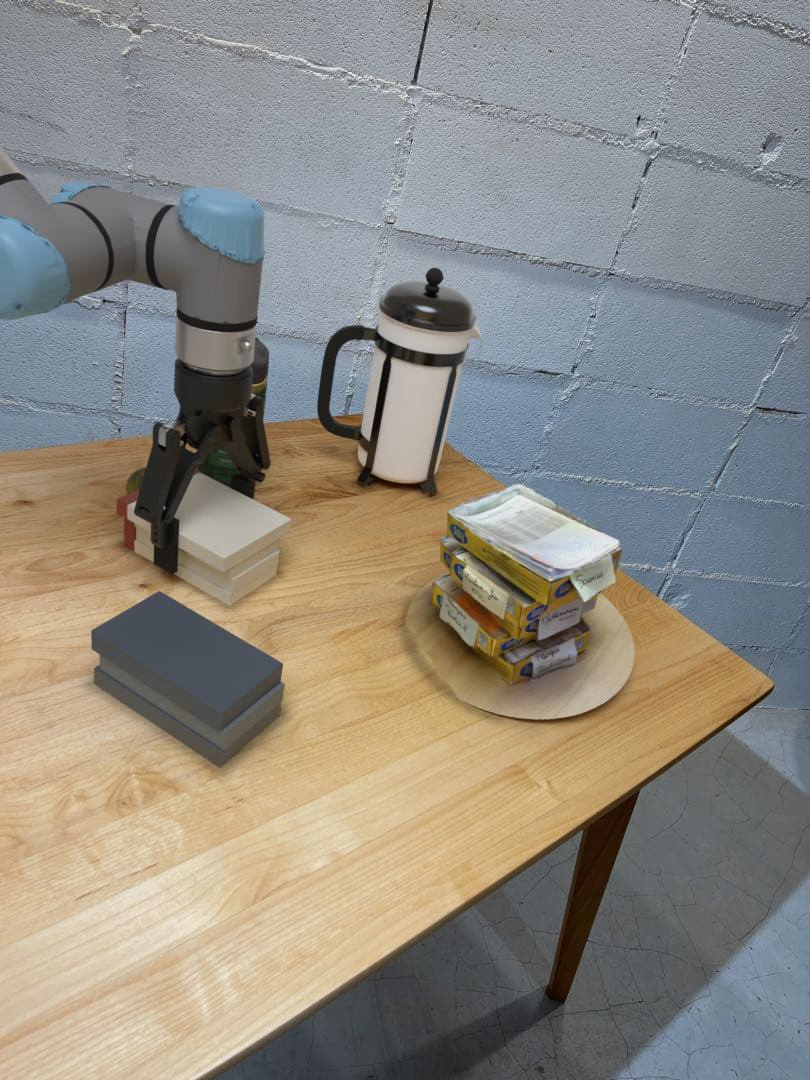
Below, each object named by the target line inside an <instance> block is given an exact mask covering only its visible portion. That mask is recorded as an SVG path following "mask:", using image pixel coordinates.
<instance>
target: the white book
mask: <svg viewBox="0 0 810 1080" xmlns="http://www.w3.org/2000/svg"><path fill="white" fill-rule="evenodd" d="M139 491H140V489H139V490H137V491H134V492H132V493H130V494H125V495H123V496H121V497H119V498H117V499H116V515H118V516H119V517H122V518H123V519H124V518H125V519H128V520H130V521H132V522H134V523H135V524H137V525H139V526H141V527H143V528H144V529H146V530H148V531H150V532H151V523H149V522H147V521H145V520H143V519H142V518H140V517H138V516H136V515H135V514H134V509H135V505H136V502H137V498H138V495H139ZM164 509H165V506H164ZM174 517H175V518H177V519H179V542H178V547H179V548H180V549H182V550H184V551H186V552H188V553H189V554H191V555H193V556H195V557H197V558H198V559H200V560H202V561H204V562H205V563H207V564H209V565H211V566H213V567H214V568H216V569H218V570H220V571H222V572H225V571H226V570H228V569H230V568H231V567H233V566H235V565H236V564H238V563H240V562H241V561H243V560H245V559H246V558H248V557H250V556H251V555H253V554H255V553H256V552H258V551H259V550H261V549H263V548H264V547H266V546H268V545H269V544H271V543H273V542H274V541H276V540H278V539H279V540H280V539H281V538H283V537H284V536H286V535H288V534H289V533H291V525H292V518H290V517H288V516H287V515H284V514H283V513H281V512H279V511H277V510H275V509H273V508H271V507H269V506H267V505H265V504H263V503H261V502H259V501H257V500H255V499H251V498H249V497H247V496H245V495H243V494H241V493H239V492H237V491H235V490H233V489H231V487H227V486H225V485H223V484H222V483H220V482H218V481H216V480H214V479H212V478H210V477H208V476H206V475H204V474H202V473H200V472H199V471H198V469H196V471H195V473H194V475H193V478H192V480H191V482H190V484H189V486H188V488H187V490H186V492H185V495H184V497H183V499H182V501H181V503H180V505H179V507H178V509H177V512H176V514H175V516H174Z"/></svg>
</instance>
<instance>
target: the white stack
mask: <svg viewBox="0 0 810 1080" xmlns="http://www.w3.org/2000/svg"><path fill="white" fill-rule="evenodd" d="M123 523H124V524H123V527H124V528H123V529H124V530H123V546H124V548H127V549H128V550H130V551H132V552H134V553H136V554H137V555H140V556H142V557H143V558H145V559H147V560H148V561H150V562H151V563H153V564H154V545H153V544H152V543H151V532H150V531H148V530H146V529H144V528H143V527H141V526H139V525H137V524H135V523H134V522H132V521H130V520H128V519H125V518H123ZM279 543H280V538H279V539H278V540H276V541H274V542H273V543H271V544H269V545H268V546H266V547H264V548H263V549H261V550H259V551H258V552H256V553H255V554H253V555H251V556H250V557H248V558H246V559H245V560H243V561H241V562H240V563H238V564H236V565H235V566H233V567H231V568H230V569H228V570H226V571H225V572H222V571H220V570H218V569H216V568H214V567H213V566H211V565H209V564H207V563H205V562H204V561H202V560H200V559H198V558H197V557H195V556H193V555H191V554H189V553H188V552H186V551H184V550H182V549H180V548H179V547H178V572H176V573H174V574H173V575H175V576H176V577H177V578H180V579H181V580H183V581H185V582H187V583H188V584H189V585H192V586H194V587H196V588H197V589H199V590H201V591H202V592H204V593H206V594H208V595H209V596H211V597H213V598H214V599H217V600H219V601H220V602H221V603H223V604H225V605H227V606H231V605H233V604H235V603H236V602H238V601H240V600H241V599H242V598H244V597H245V596H246V595H248V594H249V593H251V592H253V591H254V590H256V589H257V588H259V587H260V586H262V585H263V584H265V583H266V582H268V581H269V580H271V579H272V578H274V577H275V576H277V572H278V565H279V561H280V555H281V554H280V553H281V551H280V550H279V545H280V544H279Z"/></svg>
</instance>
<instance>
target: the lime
mask: <svg viewBox="0 0 810 1080" xmlns="http://www.w3.org/2000/svg"><path fill="white" fill-rule="evenodd" d="M145 470H146V467H142V468H140V469H137V470H135V471H133V473H132V474H130V475H129V477H128V479H127V481H126V485H125V489H126V495H128V494H130V493H132V492H134V491H137V490H139V489H140V488H141V484H142V481H143V477H144V474H145Z"/></svg>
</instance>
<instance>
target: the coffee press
mask: <svg viewBox="0 0 810 1080" xmlns="http://www.w3.org/2000/svg"><path fill="white" fill-rule="evenodd" d="M444 279H445V278H444V273H443V271H442V270H441V269H440V268H438V267H431V268H430V269H428V270H427V271H426V274H425V280H415V279H412V280H403V281H399V282H396V283H394V284H392V285H391V286H390V287H389V288H387V289H386V291H385V292H384V294H383V295H382V296H381V297H379V299H378V300H379V301H378V308H379V311H380V313H379V320H378V324H377V325H376V327H375V328H373V327H368V326H364V325H363V324H362V325H361V324H352V325H346V326H343V327H341V328H340V329H338V330H336V331H335V333H333V334H332V336H331V337H330V338H329V340H328V341H327V343H326V346H325V349H324V354H323V358H322V365H321V370H320V371H321V372H320V379H319V387H318V393H317V404H316V408H317V409H316V411H317V417H318V420H319V423H320V425H321V426H322V427H323V429H324V430H326V431H327V432H328V433H330V434H332V435H333V436H337V437H340V438H343V439H350V440H354V441H357V442H358V444H357V445H358V446H357V449H356V453H357V459H358V461H359V464H360V465H361V466H362V467H363V469H362V471H361V472H360V474H359V475H358V476H357V479H356V484H357V485H359V486H360V487H362V488H365V485H366V486H368V487H369V486H371V485H372V484H373V482H374V481H375V480H376V479H378V478H379V479H382V480H384V481H389V482H392V483H398V484H418V486H419V487H420V489H421V491H422V493H423V494H427V493H429V495H428V497H432V496H434V495H436V494H438V487H437V485H436V480H435V475H436V473H437V472H438V471H439V468H440V464H441V460H442V455H443V451H444V446H445V442H446V438H447V434H448V430H449V426H450V421H451V417H452V412H453V407H454V403H455V400H456V395H457V390H458V386H459V382H460V377H461V373H462V369H463V364H464V362H465V361H466V360H467V356H468V352H469V351H468V350H469V346H470V345H469V341H470V339H478V340H482V338H483V336H482V333H481V331H480V329H479V327H478V324H477V323H476V322H477V316H476V314H475V312H474V306H473V304H472V302H471V301H470V300H469V298H468V297H467V296H466V295H464V294H463V293H462V292H460V291H459V290H457V289H455V288H452V287H450V286H447V285H444V284H442V282H443V280H444ZM362 340H363V341H364V340H365V341H373V342H374V349H373V355H372V362H371V367H370V372H369V379H368V384H367V385H368V386H367V391H366V398H365V403H364V410H363V415H362V420H361V421H362V422H361V423H360V424H359V425H350V424H344V423H341V422H339V421H337V420H335V419H334V417H333V416H332V413H331V410H330V406H331V405H330V404H331V398H332V390H333V383H334V377H335V371H336V363H337V358H338V354H339V352H340V350H341V349H342V347H343V346H344V345H345V344H346V343H348V342H351V341H362ZM426 481H427V482H426Z"/></svg>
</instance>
